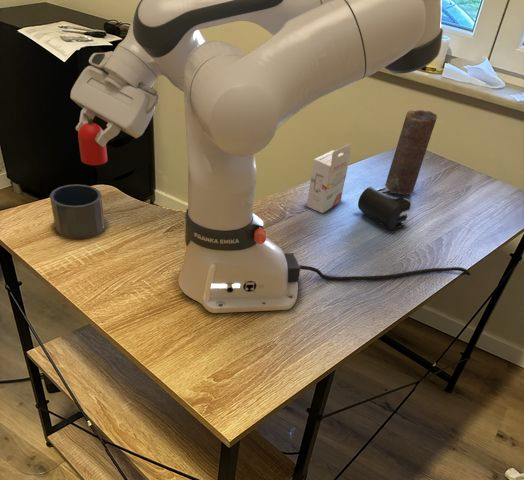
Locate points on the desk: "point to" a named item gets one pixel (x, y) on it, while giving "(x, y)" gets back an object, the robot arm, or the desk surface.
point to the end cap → (383, 207)
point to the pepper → (91, 144)
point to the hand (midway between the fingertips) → (88, 138)
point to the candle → (410, 151)
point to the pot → (77, 211)
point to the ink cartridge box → (328, 179)
